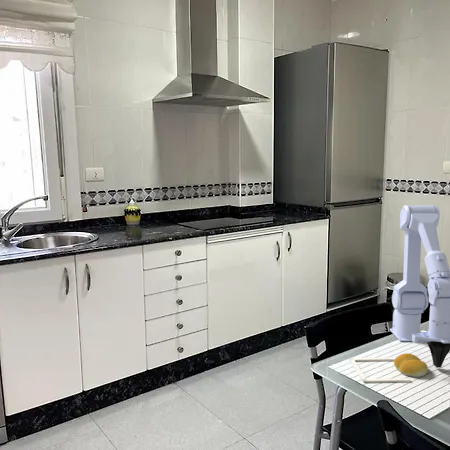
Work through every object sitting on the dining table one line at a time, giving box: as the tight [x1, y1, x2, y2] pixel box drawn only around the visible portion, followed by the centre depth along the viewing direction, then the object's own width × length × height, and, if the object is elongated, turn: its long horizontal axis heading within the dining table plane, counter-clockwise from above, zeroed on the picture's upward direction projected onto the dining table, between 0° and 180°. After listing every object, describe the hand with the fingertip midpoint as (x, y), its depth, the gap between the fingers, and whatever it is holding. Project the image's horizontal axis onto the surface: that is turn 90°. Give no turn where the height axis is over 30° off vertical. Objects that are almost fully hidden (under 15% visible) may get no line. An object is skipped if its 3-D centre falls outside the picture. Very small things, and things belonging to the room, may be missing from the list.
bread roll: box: [393, 352, 429, 378], centre depth 126 cm, size 8×9×4 cm
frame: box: [349, 357, 412, 384], centre depth 126 cm, size 13×12×1 cm
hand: (437, 365), depth 126 cm, fingers closed
